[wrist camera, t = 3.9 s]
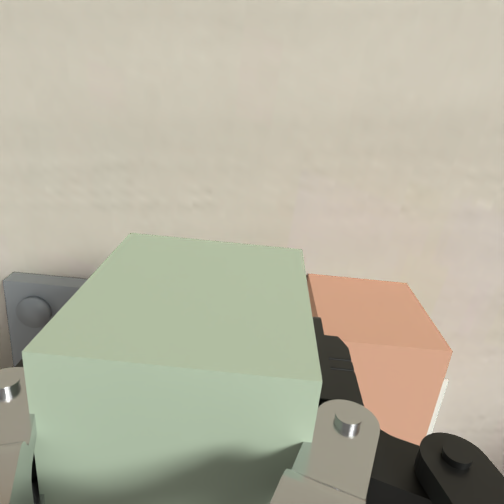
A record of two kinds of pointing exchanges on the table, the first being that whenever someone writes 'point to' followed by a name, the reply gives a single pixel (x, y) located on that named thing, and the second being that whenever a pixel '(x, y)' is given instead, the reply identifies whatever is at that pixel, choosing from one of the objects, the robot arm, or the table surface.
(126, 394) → the brick sage
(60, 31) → the table surface
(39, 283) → the plate
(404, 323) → the brick terracotta
